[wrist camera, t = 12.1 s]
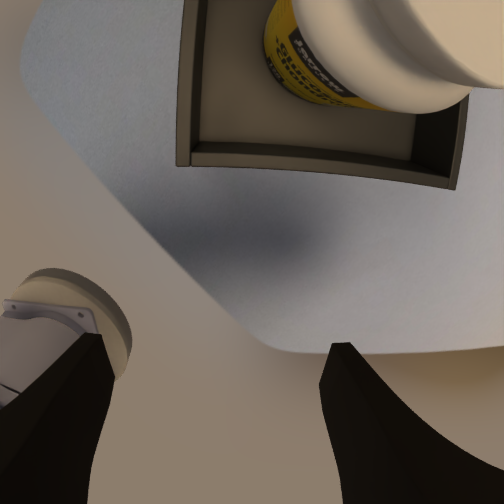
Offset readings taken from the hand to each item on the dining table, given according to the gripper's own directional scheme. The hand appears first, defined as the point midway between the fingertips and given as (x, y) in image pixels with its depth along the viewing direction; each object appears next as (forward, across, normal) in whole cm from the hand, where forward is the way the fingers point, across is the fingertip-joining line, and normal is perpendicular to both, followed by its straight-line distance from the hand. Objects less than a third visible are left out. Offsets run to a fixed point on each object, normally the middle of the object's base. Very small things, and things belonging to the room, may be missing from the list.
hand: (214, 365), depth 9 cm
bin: (+10, -5, -11) cm, 16 cm away
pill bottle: (+10, -5, -11) cm, 15 cm away
